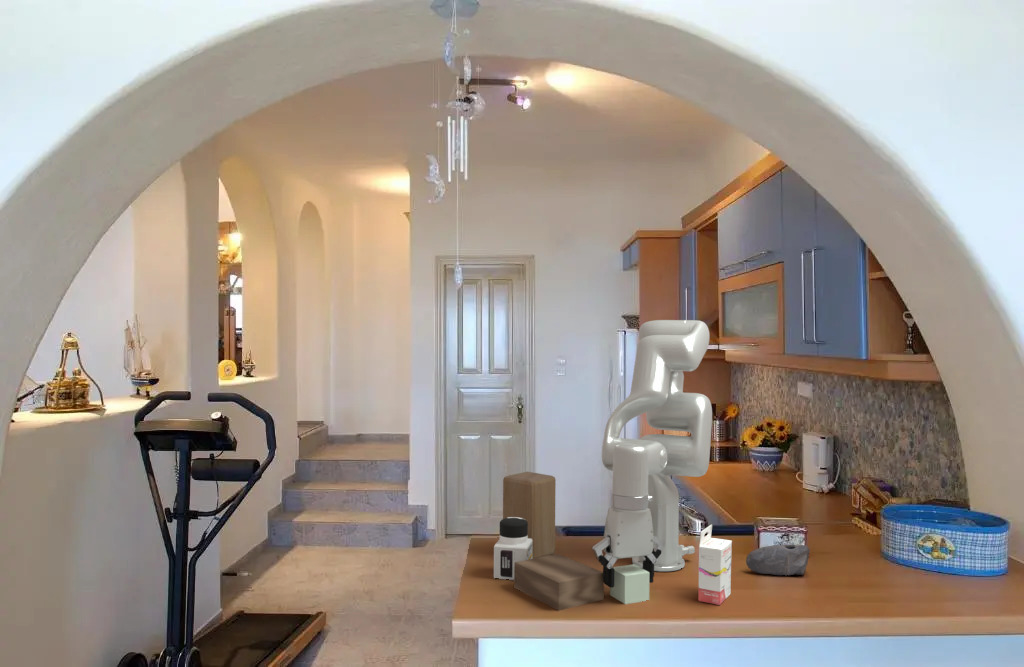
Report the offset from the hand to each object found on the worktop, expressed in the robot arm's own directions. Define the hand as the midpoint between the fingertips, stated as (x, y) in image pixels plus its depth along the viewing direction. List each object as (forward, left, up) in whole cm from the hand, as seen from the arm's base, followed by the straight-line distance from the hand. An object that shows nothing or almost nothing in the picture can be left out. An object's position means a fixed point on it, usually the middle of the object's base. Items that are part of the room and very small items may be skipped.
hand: (628, 583), depth 161 cm
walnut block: (+12, -9, -4) cm, 16 cm away
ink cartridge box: (-18, +6, -4) cm, 19 cm away
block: (+6, -37, -4) cm, 37 cm away
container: (+16, -24, -4) cm, 29 cm away
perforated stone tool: (-42, -1, -4) cm, 42 cm away
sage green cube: (-1, -1, -3) cm, 4 cm away
